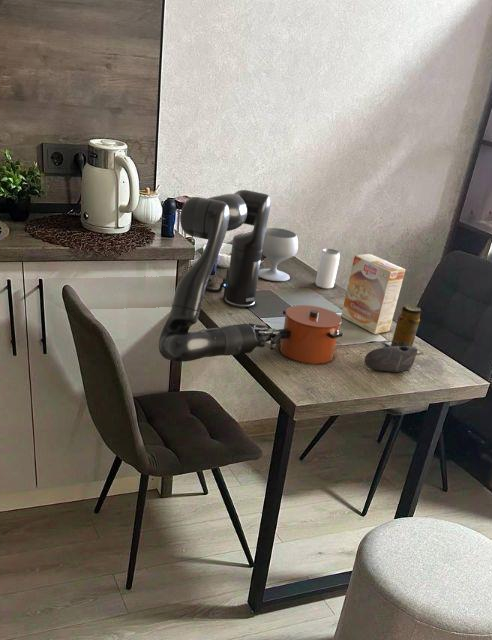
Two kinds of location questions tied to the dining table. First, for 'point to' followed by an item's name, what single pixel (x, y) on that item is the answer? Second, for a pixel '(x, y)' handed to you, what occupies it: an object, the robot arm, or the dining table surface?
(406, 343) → the condiment
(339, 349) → the dining table surface
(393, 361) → the perforated stone tool
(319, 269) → the can
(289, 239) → the chalice
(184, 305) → the robot arm
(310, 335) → the pot
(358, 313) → the coffeecake box
